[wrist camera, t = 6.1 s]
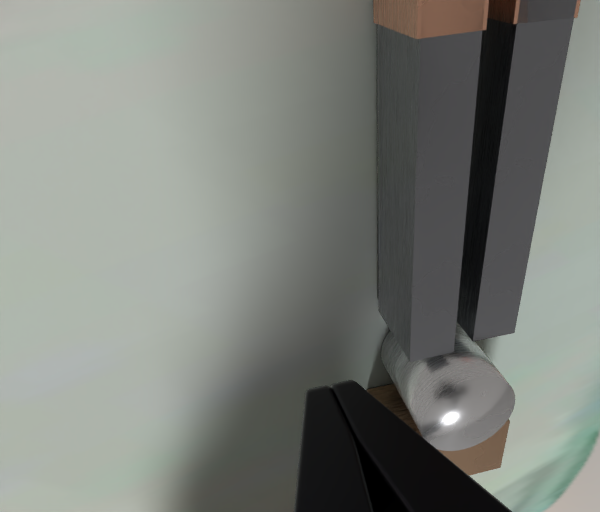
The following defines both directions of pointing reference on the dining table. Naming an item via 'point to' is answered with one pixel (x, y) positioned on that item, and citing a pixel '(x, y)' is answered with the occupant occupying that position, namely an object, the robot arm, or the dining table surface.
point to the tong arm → (424, 163)
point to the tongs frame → (490, 236)
